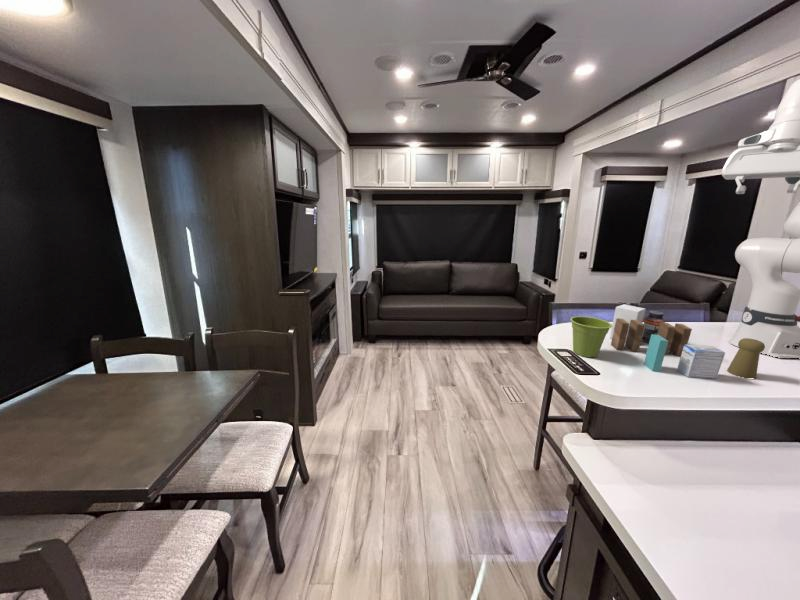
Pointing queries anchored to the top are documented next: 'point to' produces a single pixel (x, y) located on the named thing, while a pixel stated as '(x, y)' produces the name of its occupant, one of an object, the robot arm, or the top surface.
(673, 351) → the domino
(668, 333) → the domino
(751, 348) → the cork
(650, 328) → the supplement bottle
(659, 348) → the domino
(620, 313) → the supplement box
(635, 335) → the domino
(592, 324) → the plant pot
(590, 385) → the top surface
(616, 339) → the domino
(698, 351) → the medicine box
